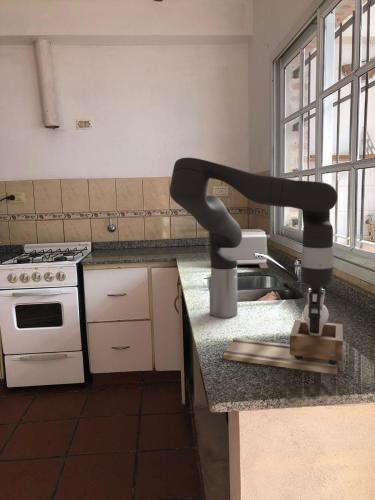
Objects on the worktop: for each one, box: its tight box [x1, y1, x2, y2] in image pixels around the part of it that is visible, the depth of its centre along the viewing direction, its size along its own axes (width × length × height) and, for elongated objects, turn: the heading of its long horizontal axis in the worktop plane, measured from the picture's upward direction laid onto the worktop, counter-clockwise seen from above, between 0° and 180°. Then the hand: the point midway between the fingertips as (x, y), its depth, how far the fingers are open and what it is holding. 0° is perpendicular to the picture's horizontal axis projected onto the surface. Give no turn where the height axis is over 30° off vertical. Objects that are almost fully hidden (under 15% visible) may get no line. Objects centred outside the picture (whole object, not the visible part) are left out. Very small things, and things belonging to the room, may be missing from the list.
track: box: [223, 337, 339, 376], centre depth 102 cm, size 28×12×2 cm, turn 69°
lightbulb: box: [302, 303, 329, 336], centre depth 98 cm, size 6×6×11 cm
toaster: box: [221, 228, 271, 269], centre depth 226 cm, size 19×34×20 cm, turn 90°
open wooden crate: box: [289, 319, 344, 364], centre depth 98 cm, size 12×12×7 cm
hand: (315, 327), depth 98 cm, fingers open, 8 cm apart
